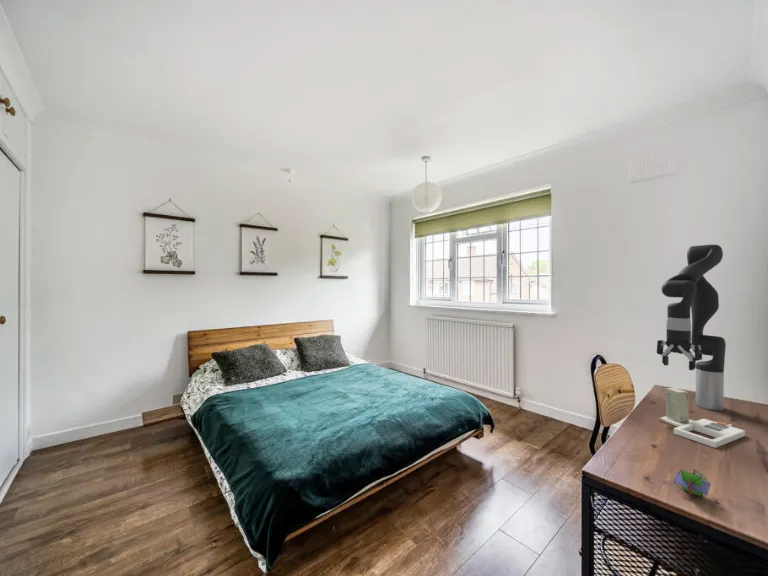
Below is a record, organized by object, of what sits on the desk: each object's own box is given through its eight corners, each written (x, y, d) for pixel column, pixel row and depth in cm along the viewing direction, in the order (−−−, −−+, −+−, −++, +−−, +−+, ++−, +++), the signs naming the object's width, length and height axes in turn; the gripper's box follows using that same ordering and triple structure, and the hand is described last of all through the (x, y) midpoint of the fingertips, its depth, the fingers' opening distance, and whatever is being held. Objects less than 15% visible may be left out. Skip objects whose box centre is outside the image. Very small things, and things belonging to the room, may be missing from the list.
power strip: (711, 420, 136) (711, 414, 136) (752, 432, 125) (752, 425, 125) (673, 433, 125) (673, 426, 125) (715, 447, 114) (715, 440, 114)
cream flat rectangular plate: (673, 416, 141) (673, 413, 141) (697, 423, 134) (697, 420, 134) (658, 420, 136) (658, 418, 136) (682, 428, 129) (682, 425, 129)
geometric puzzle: (704, 501, 83) (709, 470, 86) (670, 487, 89) (675, 458, 91) (709, 508, 87) (713, 478, 89) (675, 495, 92) (680, 467, 95)
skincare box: (689, 422, 132) (689, 392, 132) (678, 422, 132) (679, 392, 132) (675, 415, 138) (675, 387, 138) (665, 415, 138) (665, 387, 138)
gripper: (705, 330, 129) (705, 370, 130) (663, 326, 142) (663, 362, 143) (695, 331, 126) (695, 373, 127) (653, 327, 139) (653, 364, 140)
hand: (678, 367), depth 135 cm, fingers open, 8 cm apart
